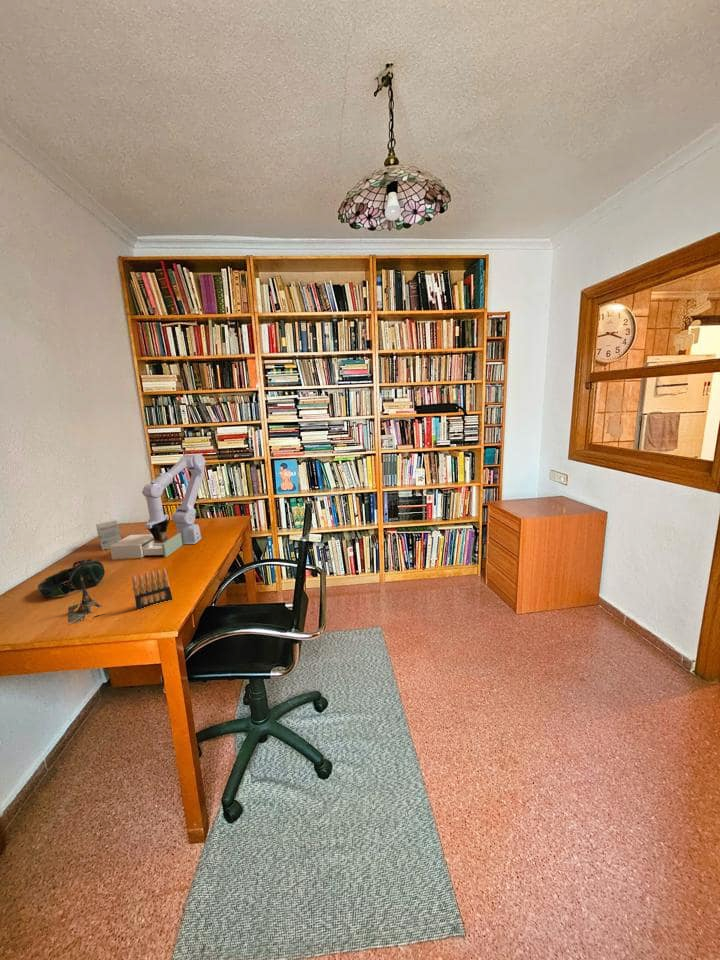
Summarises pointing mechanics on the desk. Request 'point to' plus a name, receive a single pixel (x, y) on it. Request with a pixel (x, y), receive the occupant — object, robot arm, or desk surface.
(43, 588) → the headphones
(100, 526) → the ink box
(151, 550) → the drawer
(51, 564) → the desk surface
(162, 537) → the walnut block
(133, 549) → the organizer
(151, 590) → the ammunition clip
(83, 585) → the eiffel tower figurine
